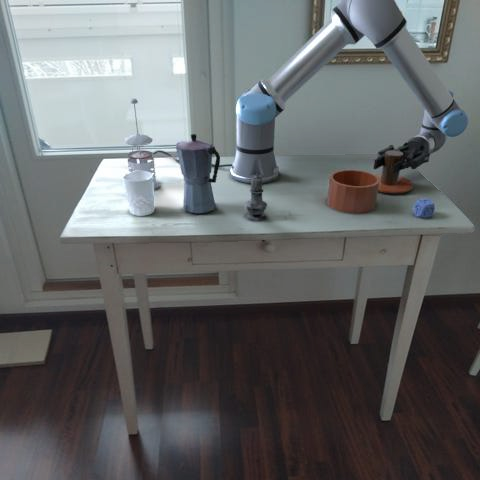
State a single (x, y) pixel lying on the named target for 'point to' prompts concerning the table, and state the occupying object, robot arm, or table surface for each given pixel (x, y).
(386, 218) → the table surface
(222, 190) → the table surface
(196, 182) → the moka pot
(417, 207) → the decorative dice
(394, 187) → the lid
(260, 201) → the salt shaker
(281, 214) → the table surface
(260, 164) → the robot arm
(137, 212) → the white cup
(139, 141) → the french press
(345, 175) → the pot
